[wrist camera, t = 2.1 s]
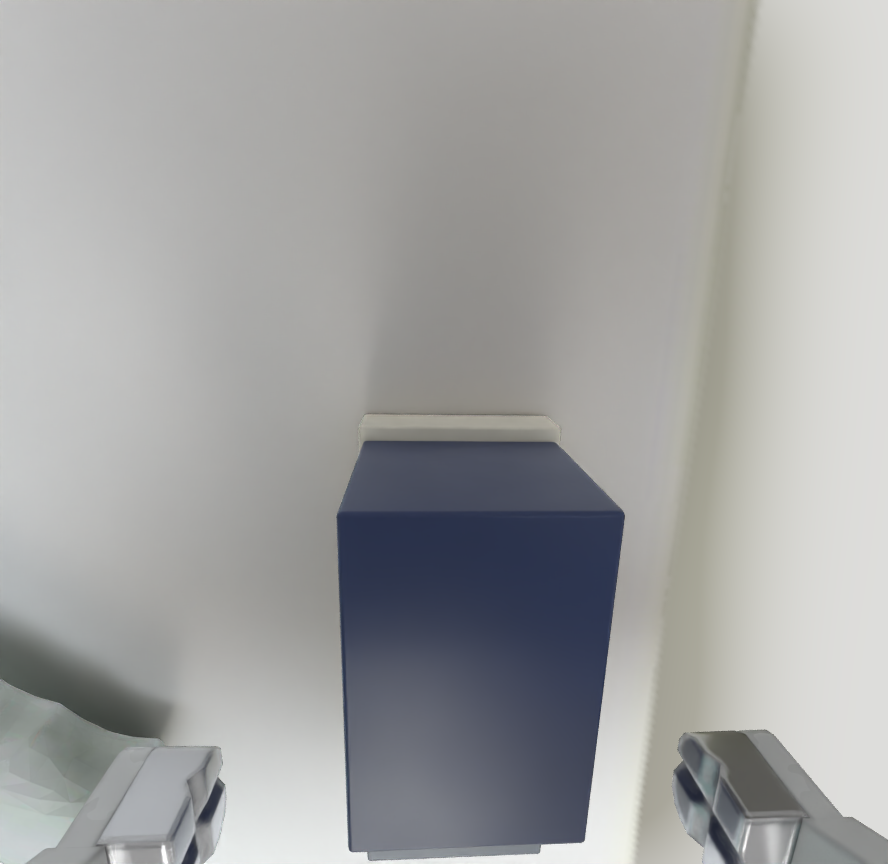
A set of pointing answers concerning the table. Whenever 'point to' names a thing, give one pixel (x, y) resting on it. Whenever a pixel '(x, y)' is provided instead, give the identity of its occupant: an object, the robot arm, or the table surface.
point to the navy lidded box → (471, 635)
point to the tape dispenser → (48, 770)
